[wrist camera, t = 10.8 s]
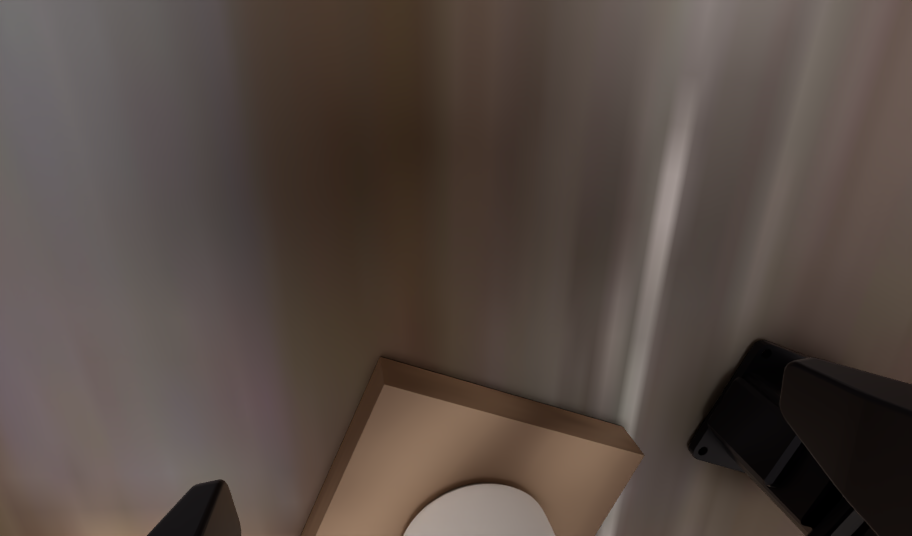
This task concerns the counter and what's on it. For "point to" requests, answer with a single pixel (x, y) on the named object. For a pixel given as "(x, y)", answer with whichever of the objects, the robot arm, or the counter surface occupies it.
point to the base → (466, 455)
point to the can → (481, 513)
